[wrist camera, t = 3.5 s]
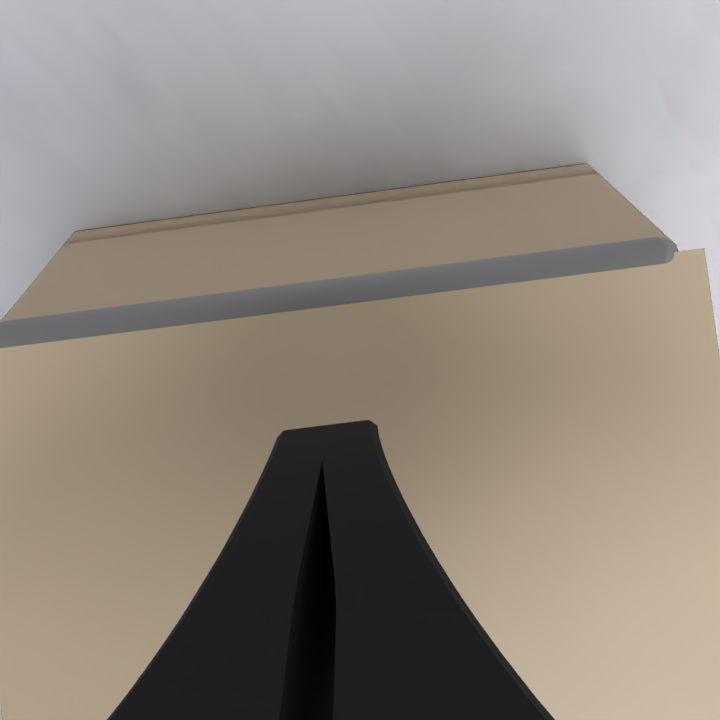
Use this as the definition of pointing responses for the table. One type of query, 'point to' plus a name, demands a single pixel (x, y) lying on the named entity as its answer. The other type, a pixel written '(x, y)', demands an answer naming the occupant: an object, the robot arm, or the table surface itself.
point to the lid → (404, 456)
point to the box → (333, 239)
